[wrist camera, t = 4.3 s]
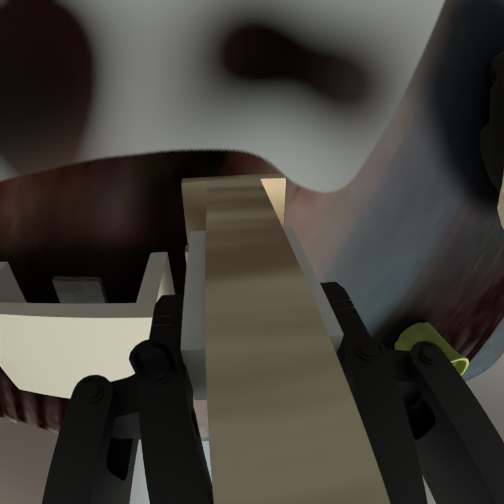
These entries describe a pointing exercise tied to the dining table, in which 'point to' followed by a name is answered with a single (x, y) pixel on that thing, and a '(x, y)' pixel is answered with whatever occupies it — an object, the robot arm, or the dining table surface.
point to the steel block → (79, 290)
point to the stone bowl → (495, 132)
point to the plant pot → (430, 334)
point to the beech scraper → (271, 360)
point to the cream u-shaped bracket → (75, 333)
